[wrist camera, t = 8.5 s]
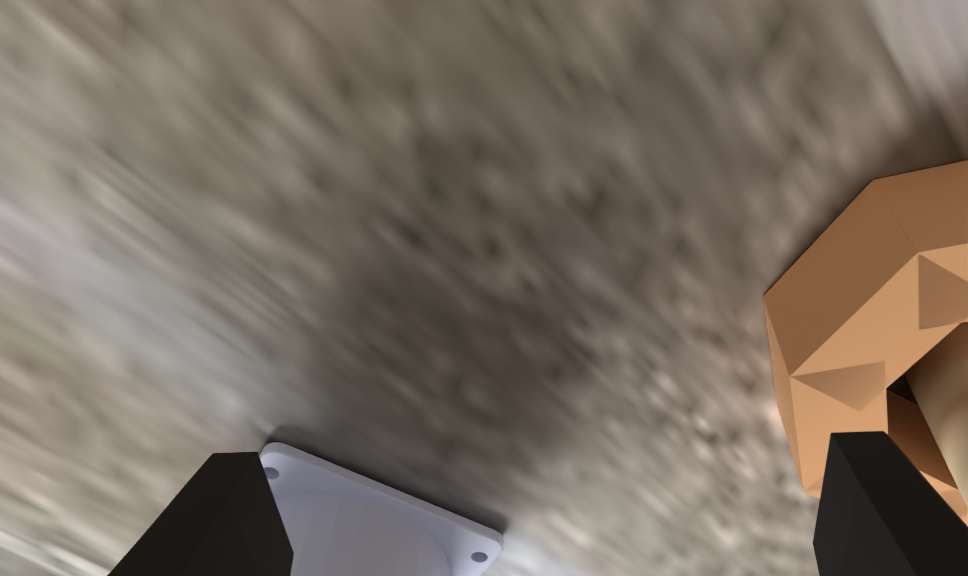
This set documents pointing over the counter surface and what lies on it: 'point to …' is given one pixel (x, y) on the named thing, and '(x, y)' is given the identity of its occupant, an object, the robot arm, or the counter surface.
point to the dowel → (946, 399)
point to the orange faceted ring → (871, 320)
